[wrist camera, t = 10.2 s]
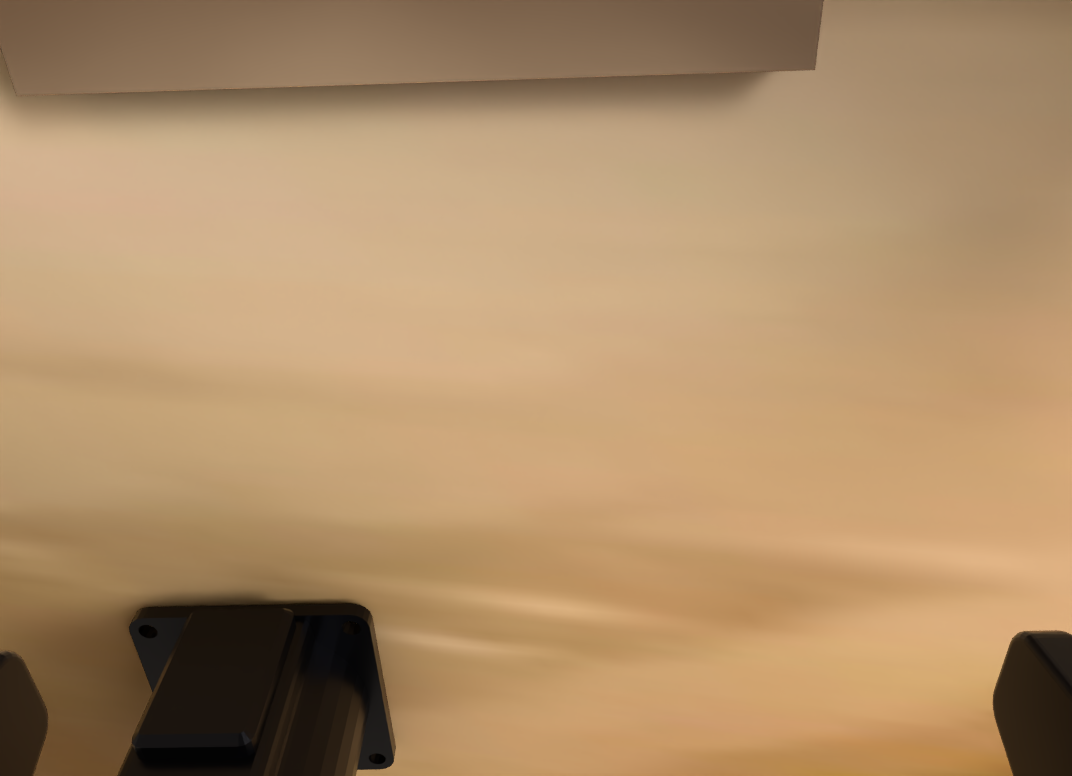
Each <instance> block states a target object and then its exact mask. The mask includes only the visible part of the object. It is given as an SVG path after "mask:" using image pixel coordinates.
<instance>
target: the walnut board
mask: <svg viewBox="0 0 1072 776" xmlns="http://www.w3.org/2000/svg"><path fill="white" fill-rule="evenodd" d="M823 1H824V0H0V47H1V50H2V53H3V56H4V59H5V62H6V65H7V68H8V71H9V74H10V77H11V80H12V83H13V87H14V90H15V93H16V96H30V95H61V94H92V93H122V92H153V91H184V90H214V89H245V88H275V87H306V86H337V85H367V84H398V83H429V82H459V81H490V80H521V79H551V78H582V77H613V76H643V75H674V74H704V73H735V72H766V71H796V70H815V65H816V57H817V49H818V41H819V33H820V25H821V17H822V9H823Z"/></svg>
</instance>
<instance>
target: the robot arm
mask: <svg viewBox="0 0 1072 776" xmlns="http://www.w3.org/2000/svg"><path fill="white" fill-rule="evenodd" d="M348 621H352V622H356V623H357V624H353V623H349V622H348ZM149 625H150V626H149ZM151 626H152V627H151ZM129 630H130V634H131V637H132V639H133V642H134V645H135V647H136V650H137V652H138V655H139V658H140V660H141V663H142V666H143V668H144V671H145V673H146V676H147V679H148V681H149V684H150V686H151V689H152V692H153V693H152V696H151V698H150V700H149V702H148V704H147V706H146V709H145V711H144V713H143V715H142V717H141V720H140V722H139V724H138V726H137V728H136V730H135V733H134V735H133V737H132V744H131V747H130V749H129V751H128V753H127V755H126V758H125V760H124V762H123V764H122V766H121V768H120V771H119V773H118V775H117V776H356V772H357V770H365V769H385V768H387V767H390V766H391V765H392V764H393V762H394V756H395V749H396V746H395V740H394V734H393V729H392V723H391V718H390V712H389V707H388V701H387V696H386V690H385V684H384V679H383V673H382V668H381V662H380V657H379V651H378V646H377V640H376V634H375V629H374V623H373V618H372V615H371V613H370V611H369V610H368V609H366V608H365V607H363V606H361V605H358V604H306V605H249V606H193V607H148V608H142V609H140V610H139V611H137V613H136V615H135V617H134V619H133V620H132V622H131V624H130V626H129ZM993 710H994V716H995V720H996V723H997V727H998V730H999V733H1000V736H1001V739H1002V742H1003V745H1004V748H1005V751H1006V755H1007V758H1008V761H1009V764H1010V767H1011V770H1012V773H1013V776H1072V635H1071V634H1069V633H1067V632H1063V631H1023V632H1019V633H1018V634H1017V635H1015V636H1014V637H1013V638H1012V641H1011V643H1010V645H1009V648H1008V651H1007V654H1006V657H1005V660H1004V663H1003V666H1002V669H1001V672H1000V675H999V677H998V680H997V683H996V686H995V689H994V694H993ZM47 728H48V714H47V709H46V706H45V704H44V702H43V699H42V697H41V695H40V693H39V691H38V689H37V687H36V685H35V683H34V681H33V679H32V677H31V675H30V673H29V670H28V668H27V666H26V664H25V662H24V660H23V659H22V657H21V656H19V655H18V654H16V653H15V652H12V651H0V776H33V774H34V771H35V768H36V765H37V762H38V759H39V756H40V753H41V750H42V747H43V744H44V741H45V738H46V734H47Z"/></svg>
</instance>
